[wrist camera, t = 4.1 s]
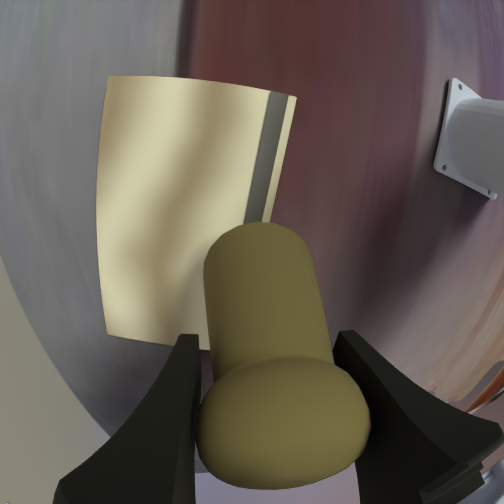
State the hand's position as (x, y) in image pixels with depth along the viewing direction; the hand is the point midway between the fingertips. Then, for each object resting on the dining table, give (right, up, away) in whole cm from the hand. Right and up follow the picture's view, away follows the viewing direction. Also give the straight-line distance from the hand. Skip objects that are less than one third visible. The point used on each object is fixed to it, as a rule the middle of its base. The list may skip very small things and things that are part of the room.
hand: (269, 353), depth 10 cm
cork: (0, +3, +6) cm, 6 cm away
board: (-5, +5, +8) cm, 11 cm away
